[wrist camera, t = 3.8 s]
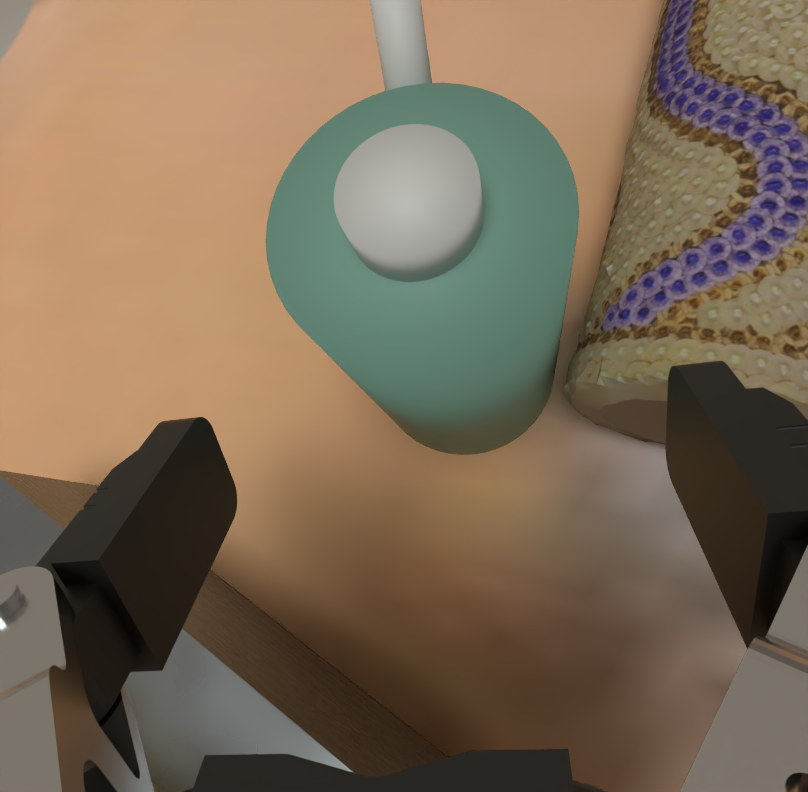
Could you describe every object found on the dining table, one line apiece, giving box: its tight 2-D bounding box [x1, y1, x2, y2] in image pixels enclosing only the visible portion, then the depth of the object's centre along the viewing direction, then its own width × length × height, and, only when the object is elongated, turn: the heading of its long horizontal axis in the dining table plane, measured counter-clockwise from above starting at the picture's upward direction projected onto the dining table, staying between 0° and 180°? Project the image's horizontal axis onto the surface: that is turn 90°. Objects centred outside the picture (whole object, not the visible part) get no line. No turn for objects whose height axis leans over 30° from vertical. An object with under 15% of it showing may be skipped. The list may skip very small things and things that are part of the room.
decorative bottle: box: [563, 0, 808, 444], centre depth 19 cm, size 26×8×7 cm, turn 163°
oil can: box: [266, 0, 579, 455], centre depth 16 cm, size 9×6×12 cm
